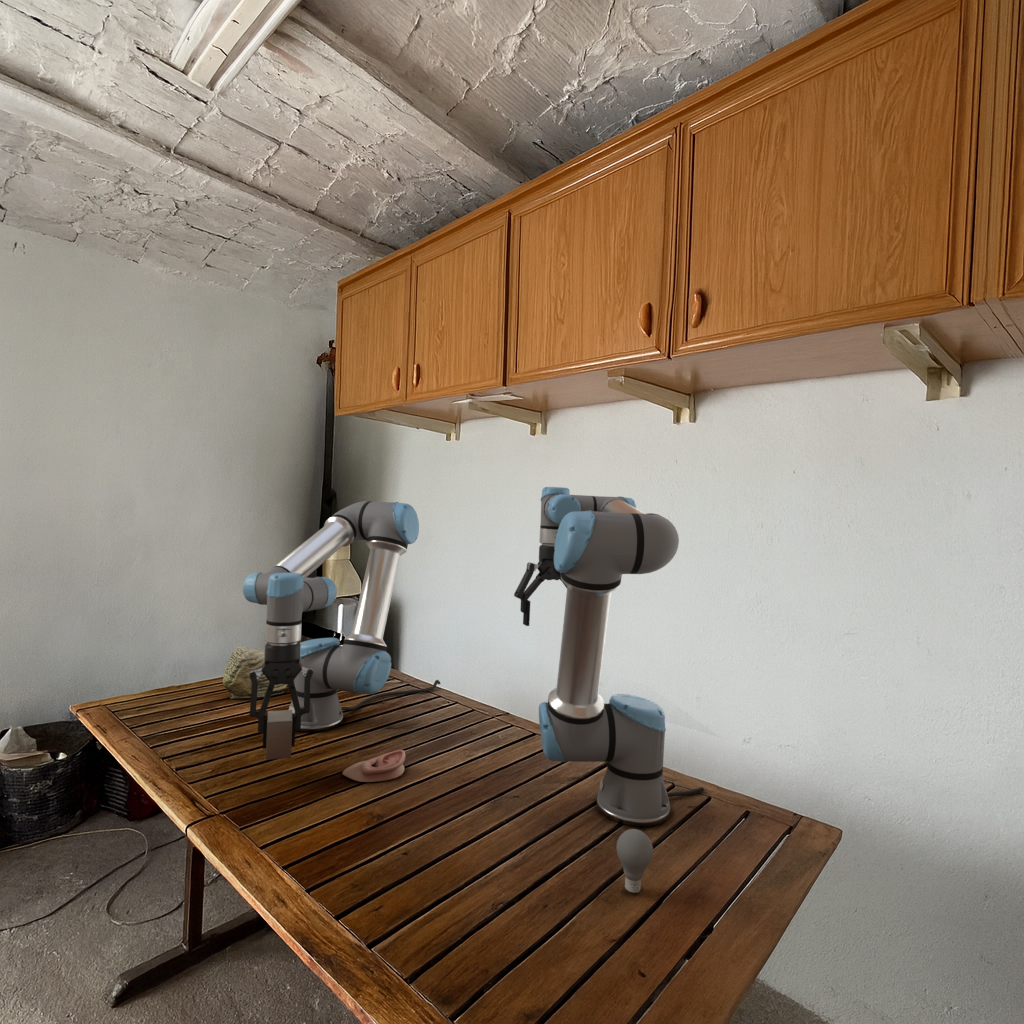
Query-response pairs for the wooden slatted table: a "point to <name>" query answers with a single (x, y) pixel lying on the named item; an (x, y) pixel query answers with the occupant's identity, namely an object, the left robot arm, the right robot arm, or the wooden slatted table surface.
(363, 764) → the anatomical model
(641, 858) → the light bulb
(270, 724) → the block
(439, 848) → the wooden slatted table surface
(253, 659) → the fossil
